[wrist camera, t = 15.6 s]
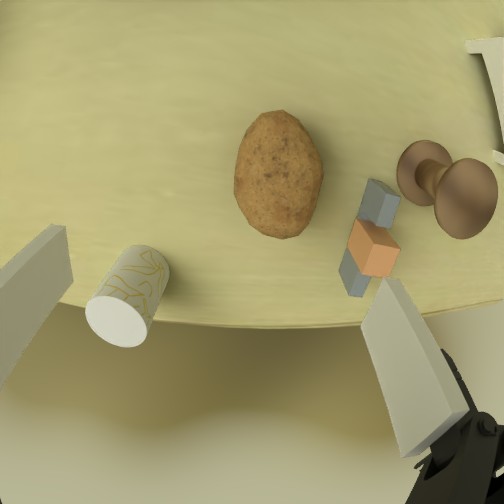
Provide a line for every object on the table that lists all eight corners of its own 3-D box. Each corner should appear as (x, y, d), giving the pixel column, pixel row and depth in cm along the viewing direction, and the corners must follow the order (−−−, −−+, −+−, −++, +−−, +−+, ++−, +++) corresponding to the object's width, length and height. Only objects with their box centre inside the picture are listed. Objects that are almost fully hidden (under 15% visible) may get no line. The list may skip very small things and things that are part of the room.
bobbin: (406, 131, 33) (454, 148, 23) (456, 152, 33) (506, 175, 24) (388, 195, 37) (426, 230, 27) (438, 209, 38) (480, 245, 28)
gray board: (368, 178, 36) (386, 193, 31) (382, 182, 36) (401, 197, 31) (338, 270, 43) (348, 295, 38) (350, 272, 43) (362, 297, 38)
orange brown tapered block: (356, 218, 37) (373, 243, 31) (379, 223, 37) (400, 249, 31) (346, 245, 39) (361, 274, 33) (370, 249, 39) (387, 278, 33)
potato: (315, 108, 32) (331, 111, 25) (314, 217, 39) (326, 246, 32) (231, 110, 32) (224, 113, 26) (239, 220, 39) (235, 250, 32)
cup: (180, 269, 43) (159, 326, 33) (151, 300, 46) (127, 355, 36) (136, 234, 40) (101, 283, 30) (110, 268, 43) (76, 319, 33)
